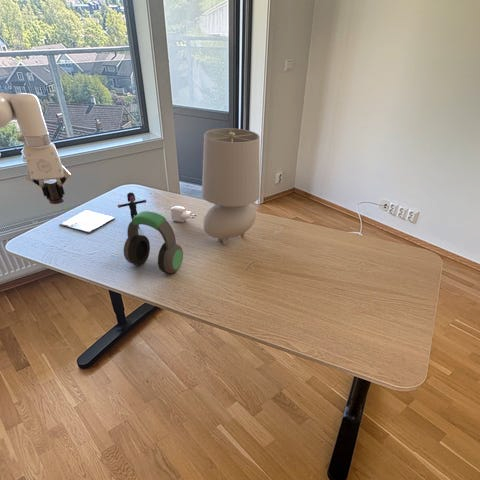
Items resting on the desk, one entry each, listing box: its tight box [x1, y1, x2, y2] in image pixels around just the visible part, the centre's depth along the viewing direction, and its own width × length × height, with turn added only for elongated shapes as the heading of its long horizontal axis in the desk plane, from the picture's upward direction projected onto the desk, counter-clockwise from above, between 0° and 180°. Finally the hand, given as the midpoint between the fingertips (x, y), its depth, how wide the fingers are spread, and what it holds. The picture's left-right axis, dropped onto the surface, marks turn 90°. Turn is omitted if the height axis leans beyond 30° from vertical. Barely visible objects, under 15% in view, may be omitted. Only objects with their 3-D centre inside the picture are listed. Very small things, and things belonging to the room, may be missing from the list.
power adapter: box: [170, 205, 198, 223], centre depth 152 cm, size 11×5×6 cm, turn 70°
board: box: [59, 209, 116, 235], centre depth 149 cm, size 16×16×1 cm
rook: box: [44, 179, 65, 205], centre depth 120 cm, size 5×5×7 cm
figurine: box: [117, 191, 147, 230], centre depth 143 cm, size 12×4×15 cm, turn 123°
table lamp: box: [201, 127, 261, 246], centre depth 129 cm, size 23×22×40 cm
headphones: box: [123, 210, 184, 274], centre depth 119 cm, size 19×11×20 cm, turn 70°
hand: (55, 196), depth 121 cm, fingers closed on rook, 3 cm apart
